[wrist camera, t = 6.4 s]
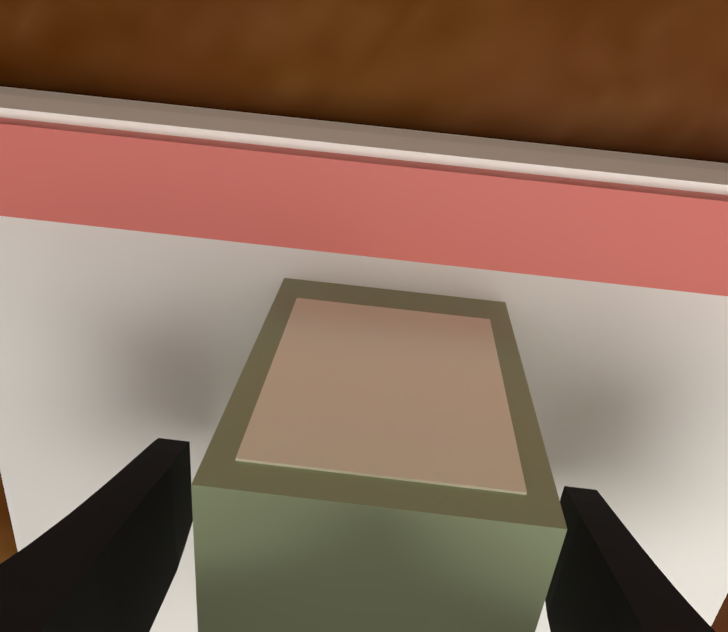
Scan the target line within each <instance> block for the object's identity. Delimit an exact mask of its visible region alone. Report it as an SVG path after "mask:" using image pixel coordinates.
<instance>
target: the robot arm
mask: <svg viewBox="0 0 728 632" xmlns="http://www.w3.org/2000/svg"><path fill="white" fill-rule="evenodd" d="M560 504H561V508H562V511H563V515H564V519H565V522H566V526H567V532H566V535H565V539H564V542H563V545H562V548H561V551H560V554H559V558H558V561H557V564H556V567H555V570H554V573H553V577H552V580H551V583H550V586H549V589H548V593H547V596H546V599H545V603H546V611H547V618H548V622H549V627H550V631H551V632H715V631H714V630H713V629H712V628H711V626H710V625H709V624H708V623H707V622H706V621H705V620H704V619H703V618H702V617H701V616H700V615H699V613H698V612H697V611H696V610H695V609H694V608H693V607H692V606H691V605H690V604H689V603H688V602H687V600H686V599H685V598H684V597H683V596H682V595H681V594H680V592H679V591H678V590H677V589H676V588H675V587H674V586H673V584H672V583H671V582H670V581H669V580H668V579H667V577H666V576H665V575H664V574H663V573H662V571H661V570H660V569H659V568H658V567H657V565H656V564H655V563H654V562H653V561H652V559H651V558H650V557H649V556H648V554H647V553H646V552H645V551H644V549H643V548H642V547H641V546H640V544H639V543H638V542H637V541H636V539H635V538H634V537H633V536H632V534H631V533H630V532H629V530H628V529H627V528H626V527H625V525H624V524H623V523H622V522H621V520H620V519H619V518H618V516H617V515H616V514H615V513H614V511H613V510H612V509H611V507H610V506H609V505H608V504H607V502H606V501H605V500H604V498H603V497H602V496H601V495H600V493H599V492H598V491H597V490H594V489H586V488H577V487H569V486H564V489H563V492H562V495H561V499H560ZM192 522H193V514H192V493H191V464H190V442H189V441H180V440H172V439H163V438H158V439H156V440H155V441H154V442H152V443H151V444H150V445H149V446H148V447H147V448H145V449H144V450H143V451H142V452H141V453H140V454H139V455H138V456H136V457H135V458H134V459H133V460H132V461H131V462H130V463H129V464H127V465H126V466H125V467H124V468H123V469H122V470H121V471H120V472H118V473H117V474H116V475H115V476H114V477H113V478H112V479H110V480H109V481H108V482H107V483H106V484H105V485H103V486H102V487H101V488H100V489H99V490H97V491H96V492H95V493H94V494H93V495H91V496H90V497H89V498H88V499H87V500H85V501H84V502H83V503H82V504H81V505H79V506H78V507H77V508H76V509H75V510H73V511H72V512H71V513H70V514H68V515H67V516H66V517H64V518H63V519H62V520H60V521H59V522H58V523H56V524H55V525H54V526H53V527H51V528H50V529H49V530H47V531H46V532H45V533H43V534H42V535H41V536H39V537H38V538H37V539H35V540H34V541H33V542H31V543H30V544H29V545H27V546H26V547H24V548H23V549H22V550H20V551H19V552H17V553H16V554H14V555H13V556H12V557H10V558H9V559H7V560H6V561H4V562H3V563H1V564H0V632H149V631H150V629H151V627H152V625H153V623H154V621H155V618H156V616H157V614H158V612H159V610H160V607H161V605H162V603H163V601H164V599H165V596H166V594H167V592H168V590H169V588H170V585H171V583H172V581H173V579H174V576H175V574H176V572H177V569H178V566H179V563H180V560H181V557H182V554H183V551H184V548H185V545H186V542H187V538H188V535H189V532H190V529H191V525H192Z"/></svg>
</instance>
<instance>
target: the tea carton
mask: <svg viewBox="0 0 728 632" xmlns="http://www.w3.org/2000/svg"><path fill="white" fill-rule="evenodd" d="M191 493H192V514H193V536H194V558H195V579H196V601H197V623H198V632H535V631H536V627H537V624H538V621H539V618H540V615H541V612H542V608H543V605H544V602H545V599H546V596H547V593H548V589H549V586H550V583H551V580H552V577H553V573H554V570H555V567H556V564H557V561H558V558H559V554H560V551H561V548H562V545H563V542H564V539H565V535H566V532H567V526H566V522H565V519H564V515H563V511H562V508H561V504H560V500H559V497H558V493H557V489H556V486H555V482H554V478H553V475H552V471H551V467H550V464H549V460H548V457H547V453H546V449H545V446H544V442H543V438H542V435H541V431H540V427H539V424H538V420H537V416H536V413H535V409H534V405H533V402H532V398H531V394H530V391H529V387H528V383H527V380H526V376H525V372H524V369H523V365H522V361H521V358H520V354H519V350H518V347H517V343H516V339H515V336H514V332H513V329H512V325H511V321H510V318H509V314H508V310H507V307H506V303H505V302H499V301H490V300H481V299H472V298H463V297H453V296H444V295H435V294H426V293H417V292H408V291H399V290H390V289H381V288H372V287H363V286H354V285H345V284H336V283H327V282H318V281H309V280H300V279H291V278H284V279H283V282H282V284H281V286H280V288H279V291H278V293H277V295H276V297H275V299H274V302H273V304H272V306H271V308H270V311H269V313H268V315H267V317H266V319H265V322H264V324H263V326H262V328H261V331H260V333H259V335H258V337H257V339H256V342H255V344H254V346H253V348H252V351H251V353H250V355H249V357H248V359H247V362H246V364H245V366H244V368H243V371H242V373H241V375H240V377H239V379H238V382H237V384H236V386H235V388H234V391H233V393H232V395H231V397H230V399H229V402H228V404H227V406H226V408H225V410H224V413H223V415H222V417H221V419H220V422H219V424H218V426H217V428H216V430H215V433H214V435H213V437H212V439H211V442H210V444H209V446H208V448H207V450H206V453H205V455H204V457H203V459H202V462H201V464H200V466H199V468H198V470H197V473H196V475H195V477H194V479H193V482H192V484H191Z"/></svg>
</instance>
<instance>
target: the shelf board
mask: <svg viewBox="0 0 728 632" xmlns="http://www.w3.org/2000/svg"><path fill="white" fill-rule="evenodd" d="M284 278H291V279H300V280H309V281H318V282H327V283H336V284H345V285H354V286H363V287H372V288H381V289H390V290H399V291H408V292H417V293H426V294H435V295H444V296H453V297H463V298H472V299H481V300H490V301H499V302H505V303H506V307H507V310H508V314H509V318H510V321H511V325H512V329H513V332H514V336H515V339H516V343H517V347H518V350H519V354H520V358H521V361H522V365H523V369H524V372H525V376H526V380H527V383H528V387H529V391H530V394H531V398H532V402H533V405H534V409H535V413H536V416H537V420H538V424H539V427H540V431H541V435H542V438H543V442H544V446H545V449H546V453H547V457H548V460H549V464H550V467H551V471H552V475H553V478H554V482H555V486H556V489H557V493H558V497H559V500H560V499H561V495H562V492H563V489H564V486H569V487H577V488H586V489H594V490H597V491H598V492H599V493H600V495H601V496H602V497H603V498H604V500H605V501H606V502H607V504H608V505H609V506H610V507H611V509H612V510H613V511H614V513H615V514H616V515H617V516H618V518H619V519H620V520H621V522H622V523H623V524H624V525H625V527H626V528H627V529H628V530H629V532H630V533H631V534H632V536H633V537H634V538H635V539H636V541H637V542H638V543H639V544H640V546H641V547H642V548H643V549H644V551H645V552H646V553H647V554H648V556H649V557H650V558H651V559H652V561H653V562H654V563H655V564H656V565H657V567H658V568H659V569H660V570H661V571H662V573H663V574H664V575H665V576H666V577H667V579H668V580H669V581H670V582H671V583H672V584H673V586H674V587H675V588H676V589H677V590H678V591H679V592H680V594H681V595H682V596H683V597H684V598H685V599H686V600H687V602H688V603H689V604H690V605H691V606H692V607H693V608H694V609H695V610H696V611H697V612H698V613H699V615H700V616H701V617H702V618H703V619H704V620H705V621H706V622H707V623H708V624H709V625H710V626H711V625H712V623H713V621H714V619H715V617H716V615H717V613H718V611H719V609H720V607H721V605H722V603H723V601H724V599H725V597H726V595H727V593H728V163H720V162H711V161H701V160H692V159H682V158H673V157H664V156H654V155H645V154H635V153H626V152H616V151H607V150H597V149H588V148H579V147H569V146H560V145H550V144H541V143H531V142H522V141H512V140H503V139H494V138H484V137H475V136H465V135H456V134H446V133H437V132H427V131H418V130H409V129H399V128H390V127H380V126H371V125H361V124H352V123H342V122H333V121H324V120H314V119H305V118H295V117H286V116H276V115H267V114H257V113H248V112H239V111H229V110H220V109H210V108H201V107H191V106H182V105H172V104H163V103H154V102H144V101H135V100H125V99H116V98H106V97H97V96H87V95H78V94H69V93H59V92H50V91H40V90H31V89H21V88H12V87H2V86H0V472H1V477H2V481H3V486H4V491H5V495H6V500H7V504H8V509H9V513H10V518H11V523H12V527H13V532H14V536H15V541H16V545H17V550H18V552H19V551H20V550H22V549H23V548H24V547H26V546H27V545H29V544H30V543H31V542H33V541H34V540H35V539H37V538H38V537H39V536H41V535H42V534H43V533H45V532H46V531H47V530H49V529H50V528H51V527H53V526H54V525H55V524H56V523H58V522H59V521H60V520H62V519H63V518H64V517H66V516H67V515H68V514H70V513H71V512H72V511H73V510H75V509H76V508H77V507H78V506H79V505H81V504H82V503H83V502H84V501H85V500H87V499H88V498H89V497H90V496H91V495H93V494H94V493H95V492H96V491H97V490H99V489H100V488H101V487H102V486H103V485H105V484H106V483H107V482H108V481H109V480H110V479H112V478H113V477H114V476H115V475H116V474H117V473H118V472H120V471H121V470H122V469H123V468H124V467H125V466H126V465H127V464H129V463H130V462H131V461H132V460H133V459H134V458H135V457H136V456H138V455H139V454H140V453H141V452H142V451H143V450H144V449H145V448H147V447H148V446H149V445H150V444H151V443H152V442H154V441H155V440H156V439H158V438H163V439H172V440H180V441H189V442H190V464H191V484H192V482H193V479H194V477H195V475H196V473H197V470H198V468H199V466H200V464H201V462H202V459H203V457H204V455H205V453H206V450H207V448H208V446H209V444H210V442H211V439H212V437H213V435H214V433H215V430H216V428H217V426H218V424H219V422H220V419H221V417H222V415H223V413H224V410H225V408H226V406H227V404H228V402H229V399H230V397H231V395H232V393H233V391H234V388H235V386H236V384H237V382H238V379H239V377H240V375H241V373H242V371H243V368H244V366H245V364H246V362H247V359H248V357H249V355H250V353H251V351H252V348H253V346H254V344H255V342H256V339H257V337H258V335H259V333H260V331H261V328H262V326H263V324H264V322H265V319H266V317H267V315H268V313H269V311H270V308H271V306H272V304H273V302H274V299H275V297H276V295H277V293H278V291H279V288H280V286H281V284H282V282H283V279H284ZM149 632H198V623H197V601H196V579H195V558H194V536H193V522H192V525H191V529H190V532H189V535H188V538H187V542H186V545H185V548H184V551H183V554H182V557H181V560H180V563H179V566H178V569H177V572H176V574H175V576H174V579H173V581H172V583H171V585H170V588H169V590H168V592H167V594H166V596H165V599H164V601H163V603H162V605H161V607H160V610H159V612H158V614H157V616H156V618H155V621H154V623H153V625H152V627H151V629H150V631H149ZM535 632H551V631H550V627H549V622H548V618H547V611H546V603H545V602H544V605H543V608H542V612H541V615H540V618H539V621H538V624H537V627H536V631H535Z"/></svg>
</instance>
